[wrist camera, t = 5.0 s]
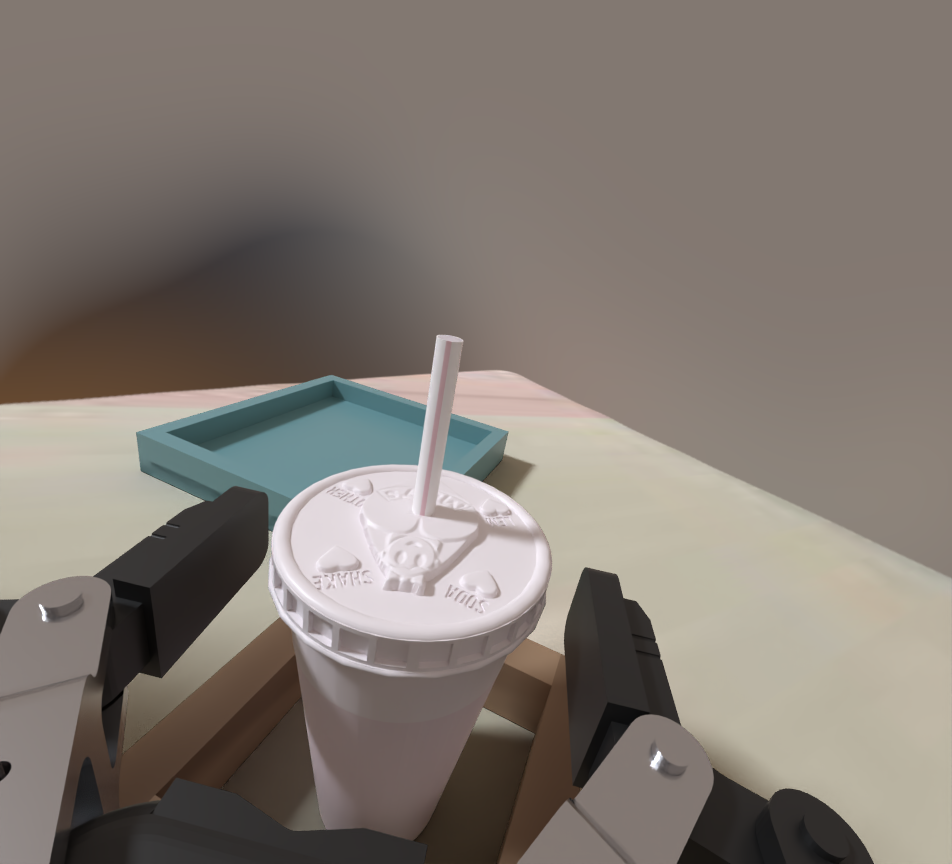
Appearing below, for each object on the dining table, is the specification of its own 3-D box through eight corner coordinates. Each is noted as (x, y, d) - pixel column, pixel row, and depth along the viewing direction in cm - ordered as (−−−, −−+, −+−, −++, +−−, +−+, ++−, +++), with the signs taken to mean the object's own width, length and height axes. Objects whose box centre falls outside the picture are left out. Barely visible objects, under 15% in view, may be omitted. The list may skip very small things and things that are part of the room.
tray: (140, 470, 27) (136, 432, 26) (329, 401, 42) (331, 374, 41) (387, 584, 22) (392, 542, 21) (502, 459, 37) (508, 431, 36)
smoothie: (482, 702, 17) (578, 339, 12) (479, 939, 12) (665, 437, 6) (313, 678, 17) (334, 295, 12) (221, 908, 11) (179, 352, 6)
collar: (59, 885, 11) (40, 826, 10) (344, 602, 21) (348, 557, 20) (473, 1256, 8) (500, 1220, 7) (582, 718, 18) (600, 672, 17)
